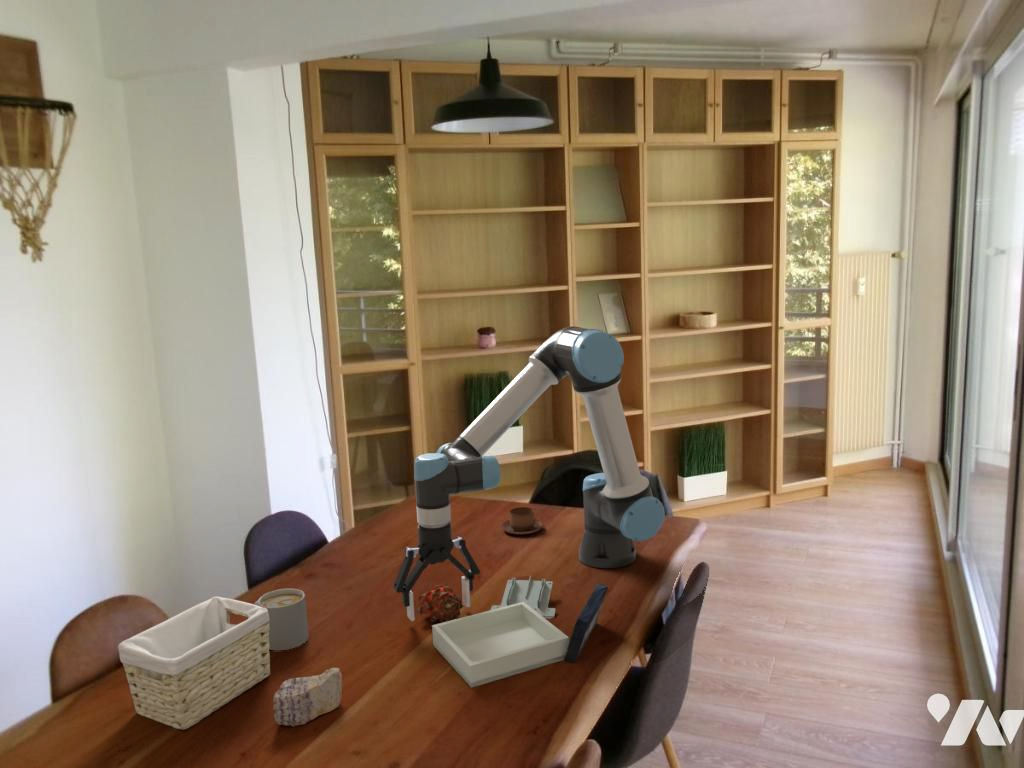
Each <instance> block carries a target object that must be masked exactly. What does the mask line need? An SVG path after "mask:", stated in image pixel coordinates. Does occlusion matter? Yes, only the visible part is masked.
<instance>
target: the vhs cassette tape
mask: <svg viewBox="0 0 1024 768" xmlns="http://www.w3.org/2000/svg"><path fill="white" fill-rule="evenodd" d="M608 588H609V586H608V585H605V584H604V583H602V582H597V584H596V586H595V587H594V589H593V591H592V593H591V594H590V596H589V598H588V600H587V602H586V603H585V605H584V606H583V608H582V610H581V612H580V614H579V616H578V617H577V619H576V621H575V623H574V626H573V630H572V633H571V636H570V638H569V645H568V648H567V652H566V655H565V658H564V660H563V661H566V662H569V663H571V664H576V662H577V661H578V659H579V656H580V655H581V653H582V651H583V649H584V647H585V646H586V643H587V642H588V640H589V638H590V636H591V634H592V632H593V631H594V628H595V626H596V624H597V623H598V618H599V615H600V613H601V610H602V606H603V604H604V601H605V597H606V594H607V592H608V590H609V589H608Z"/></svg>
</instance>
